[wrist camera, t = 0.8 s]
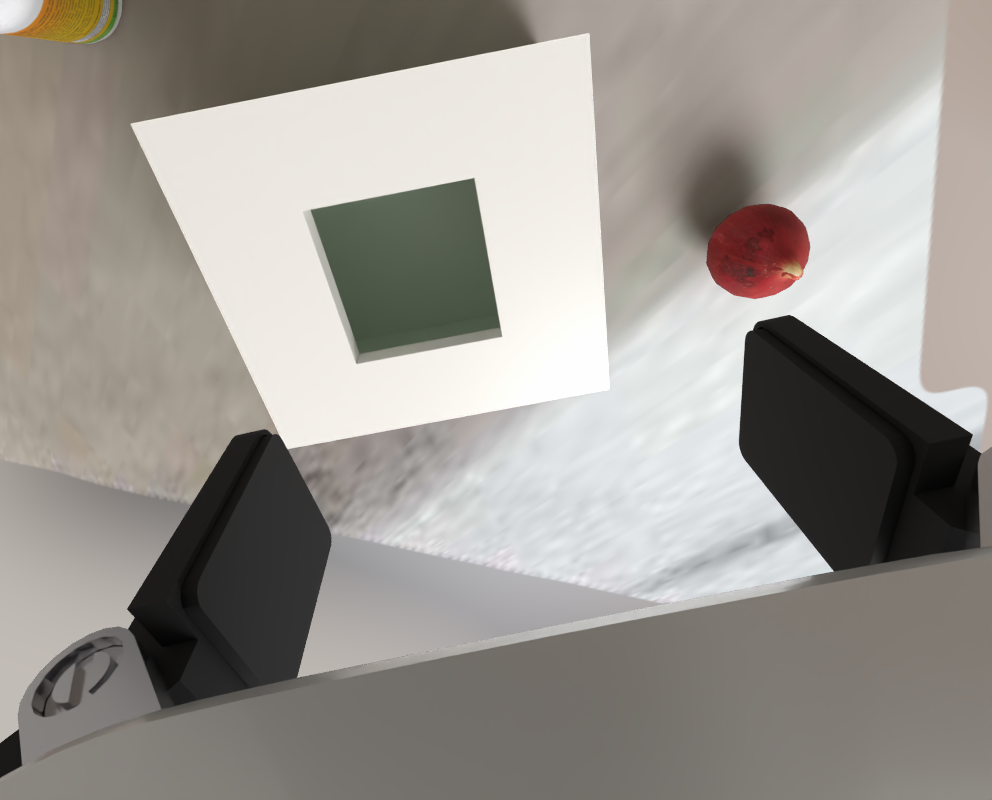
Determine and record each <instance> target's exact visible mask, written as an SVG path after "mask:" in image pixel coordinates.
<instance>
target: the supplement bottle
mask: <svg viewBox="0 0 992 800" xmlns="http://www.w3.org/2000/svg"><path fill="white" fill-rule="evenodd" d="M121 14H122V0H0V34H5V35H14V36H22V37H30V38H37V39H45V40H53V41H60V42H68V43H77V44H91V43H96V42H99V41H102V40H104V39H106V38H107V37H109V36H110V35H111V34H112V33H113V32H114V30H115V29H116V28H117V26H118V24H119V21H120V18H121Z"/></svg>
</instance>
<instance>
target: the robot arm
mask: <svg viewBox="0 0 992 800" xmlns="http://www.w3.org/2000/svg"><path fill="white" fill-rule="evenodd" d="M972 436H973V434H971V433H970V432H968V431H967V430H965V429H964V428H962V427H961V426H959V425H957V424H956V423H954V422H953V421H951V420H950V419H948V418H947V417H945V416H944V415H942V414H941V413H939V412H938V411H936V410H935V409H933V408H932V407H930V406H929V405H927V404H926V403H924V402H923V401H921V400H920V399H918V398H916V397H915V396H913V395H912V394H910V393H909V392H907V391H906V390H904V389H903V388H901V387H900V386H898V385H897V384H895V383H894V382H892V381H891V380H889V379H888V378H886V377H885V376H883V375H882V374H880V373H879V372H877V371H876V370H874V369H872V368H871V367H869V366H868V365H866V364H865V363H863V362H862V361H860V360H859V359H857V358H856V357H854V356H853V355H851V354H850V353H848V352H847V351H845V350H844V349H842V348H841V347H839V346H838V345H836V344H835V343H833V342H831V341H830V340H828V339H827V338H825V337H824V336H822V335H821V334H819V333H818V332H816V331H815V330H813V329H812V328H810V327H809V326H807V325H806V324H804V323H803V322H801V321H800V320H798V319H797V318H795V317H793V316H791V315H787V316H782V317H778V318H773V319H768V320H764V321H759V322H757V323H756V324H755V326H754V329H753V331H749V332H748V333H747V335H746V338H745V351H744V367H743V384H742V400H741V417H740V433H739V446H740V451H741V454H742V456H743V458H744V459H745V461H746V462H747V463H748V464H749V466H750V467H751V468H752V469H753V471H754V472H755V473H756V474H757V476H758V477H759V478H760V479H761V481H762V482H763V483H764V484H765V486H766V487H767V488H768V489H769V491H770V492H771V493H772V494H773V496H774V497H775V498H776V499H777V501H778V502H779V503H780V504H781V506H782V507H783V508H784V509H785V511H786V512H787V513H788V514H789V516H790V517H791V518H792V519H793V521H794V522H795V523H796V524H797V526H798V527H799V528H800V529H801V531H802V532H803V533H804V534H805V536H806V537H807V538H808V539H809V541H810V542H811V543H812V544H813V546H814V547H815V548H816V549H817V551H818V552H819V553H820V554H821V556H822V557H823V558H824V559H825V561H826V562H827V563H828V564H829V566H830V567H831V568H832V569H833V571H834V572H829V573H824V574H818V575H813V576H808V577H803V578H798V579H792V580H787V581H782V582H777V583H772V584H767V585H761V586H756V587H751V588H746V589H741V590H735V591H730V592H725V593H720V594H715V595H709V596H704V597H699V598H694V599H689V600H684V601H678V602H673V603H668V604H663V605H658V606H652V607H648V608H642V609H637V610H633V611H627V612H622V613H617V614H612V615H607V616H602V617H597V618H592V619H587V620H582V621H577V622H572V623H567V624H561V625H556V626H551V627H547V628H541V629H536V630H531V631H526V632H521V633H516V634H512V635H506V636H501V637H496V638H491V639H486V640H481V641H476V642H472V643H467V644H461V645H457V646H451V647H447V648H442V649H437V650H432V651H427V652H422V653H417V654H412V655H407V656H402V657H397V658H393V659H388V660H383V661H378V662H373V663H368V664H364V665H358V666H354V667H348V668H343V669H339V670H334V671H329V672H324V673H319V674H314V675H309V676H305V677H300V678H297V676H298V672H299V668H300V664H301V659H302V656H303V652H304V648H305V644H306V640H307V637H308V633H309V629H310V625H311V621H312V617H313V613H314V609H315V606H316V602H317V597H318V594H319V590H320V586H321V582H322V578H323V575H324V571H325V567H326V563H327V559H328V555H329V551H330V547H331V533H330V530H329V527H328V525H327V523H326V521H325V519H324V518H323V516H322V514H321V512H320V510H319V508H318V506H317V504H316V502H315V500H314V499H313V497H312V495H311V493H310V491H309V489H308V487H307V485H306V483H305V482H304V480H303V478H302V476H301V474H300V472H299V470H298V468H297V466H296V465H295V463H294V461H293V459H292V457H291V455H290V453H289V451H288V449H287V448H286V446H285V444H284V442H283V440H282V439H281V437H280V436H279V435H277V434H274V435H272V434H271V433H270V432H269V431H268V430H265V429H264V430H259V431H254V432H250V433H245V434H241V435H237V436H235V437H234V438H233V439H232V440H231V442H230V443H229V445H228V447H227V448H226V450H225V452H224V453H223V455H222V456H221V458H220V460H219V461H218V463H217V464H216V466H215V468H214V469H213V471H212V473H211V474H210V476H209V477H208V479H207V481H206V482H205V484H204V486H203V487H202V489H201V490H200V492H199V494H198V495H197V497H196V498H195V500H194V502H193V503H192V505H191V507H190V508H189V510H188V512H187V513H186V515H185V516H184V518H183V520H182V521H181V523H180V525H179V526H178V528H177V529H176V531H175V532H174V534H173V536H172V537H171V539H170V541H169V542H168V544H167V545H166V547H165V549H164V550H163V552H162V554H161V555H160V557H159V558H158V560H157V562H156V563H155V565H154V566H153V568H152V570H151V571H150V573H149V575H148V576H147V578H146V579H145V581H144V583H143V584H142V586H141V587H140V589H139V591H138V592H137V594H136V596H135V597H134V599H133V600H132V602H131V604H130V605H129V607H128V609H127V610H128V611H129V612H130V613H131V614H132V615H133V616H134V617H135V618H134V620H133V622H132V623H131V625H130V627H129V628H128V629H126V628H121V627H112V628H105V629H102V630H99V631H97V632H94V633H91V634H89V635H87V636H85V637H84V638H82V639H80V640H78V641H77V642H75V643H73V644H71V645H70V646H69V647H68V648H66V649H65V650H64V651H62V652H61V653H60V654H58V655H57V656H56V657H55V658H53V660H51V661H50V662H49V663H48V664H47V665H46V666H45V667H44V668H43V669H42V670H41V671H40V672H39V674H38V675H37V676H36V677H35V679H34V680H33V682H32V683H31V684H30V685H29V687H28V688H27V690H26V692H25V694H24V696H23V698H22V700H21V702H20V706H19V712H18V724H19V729H18V730H17V731H16V732H14V733H13V734H12V735H10V736H9V737H8V738H6V739H5V740H4V741H2V742H1V743H0V800H992V447H991V448H989V449H988V450H987V451H985V452H984V453H982V454H981V453H980V452H978V451H977V450H975V449H974V448H973V447H971V446H970V445H969V444H970V441H971V438H972Z"/></svg>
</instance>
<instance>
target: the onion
mask: <svg viewBox="0 0 992 800" xmlns="http://www.w3.org/2000/svg"><path fill="white" fill-rule="evenodd" d="M809 251H810V242H809V238H808V234H807V230H806V227H805V226H804V224H803V223H802V222H801V221H800V220H799V219H798V217H797V216H796V215H795V214H794V213H793V212H792V211H790V210H788V209H786V208H783V207H779V206H776V205H772V204H760V205H752V206H746V207H744V208H743V209H741V210H739V211H737V212H735V213H733V214H731V215H729V216H728V217H727V218H726V219H725V220H724V221H723V222H722V223H721V224H720V225H719V226H718V227H717V228H716V230H715V231H714V233H713V235H712V237H711V239H710V241H709V243H708V251H707V262H706V264H707V266H708V268H709V271H710V273H711V275H712V278H713V279H714V281H715V282H716V284H718V285H719V286H721V287H722V288H724V289H725V290H726V291H728V292H730V293H731V294H733V295H736V296H741V297H747V298H753V299H757V298H763V297H767V296H771V295H775V294H777V293H779V292H781V291H783V290H785V289H787V288H789V287H790V286H791V285H792V284H793V283H794V282H795V281H796V280H799V279H800V278H801V277H802V275H803V272H804V271H803V270H804V268H805V266H806V264H807V262H808V256H809Z"/></svg>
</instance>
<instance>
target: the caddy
mask: <svg viewBox="0 0 992 800" xmlns="http://www.w3.org/2000/svg"><path fill="white" fill-rule="evenodd" d="M131 126H132V128H133V130H134V132H135V135H136V137H137V139H138V141H139V143H140V145H141V147H142V149H143V151H144V153H145V155H146V157H147V160H148V162H149V164H150V166H151V168H152V170H153V172H154V174H155V176H156V178H157V180H158V182H159V184H160V187H161V189H162V191H163V193H164V195H165V197H166V199H167V201H168V203H169V205H170V207H171V209H172V212H173V214H174V216H175V218H176V220H177V222H178V224H179V226H180V228H181V230H182V232H183V234H184V237H185V239H186V241H187V243H188V245H189V247H190V249H191V251H192V253H193V255H194V257H195V259H196V262H197V264H198V266H199V268H200V270H201V272H202V274H203V276H204V278H205V280H206V282H207V284H208V287H209V289H210V291H211V293H212V295H213V297H214V299H215V301H216V303H217V305H218V307H219V309H220V312H221V314H222V316H223V318H224V320H225V322H226V324H227V326H228V328H229V330H230V332H231V334H232V337H233V339H234V341H235V343H236V345H237V347H238V349H239V351H240V353H241V355H242V357H243V359H244V362H245V364H246V366H247V368H248V370H249V372H250V374H251V376H252V378H253V380H254V382H255V384H256V387H257V389H258V391H259V393H260V395H261V397H262V399H263V401H264V403H265V405H266V407H267V409H268V412H269V414H270V416H271V418H272V420H273V422H274V424H275V426H276V428H277V430H278V432H279V434H280V437H281V439H282V440H283V442H284V444H285V446H286V448H287V449H290V448H296V447H301V446H307V445H312V444H318V443H323V442H328V441H334V440H339V439H345V438H350V437H355V436H361V435H366V434H372V433H377V432H383V431H388V430H393V429H399V428H404V427H410V426H415V425H421V424H426V423H431V422H437V421H442V420H448V419H453V418H458V417H464V416H469V415H475V414H480V413H486V412H491V411H496V410H502V409H507V408H513V407H518V406H524V405H529V404H534V403H540V402H545V401H551V400H556V399H562V398H567V397H572V396H578V395H583V394H589V393H594V392H599V391H605V390H610V384H609V367H608V349H607V332H606V315H605V297H604V280H603V262H602V245H601V228H600V210H599V193H598V176H597V158H596V141H595V123H594V106H593V89H592V71H591V54H590V36H589V33H587V34H582V35H577V36H571V37H566V38H561V39H556V40H551V41H546V42H541V43H536V44H531V45H526V46H521V47H516V48H511V49H506V50H501V51H496V52H491V53H486V54H480V55H475V56H470V57H465V58H460V59H455V60H450V61H445V62H440V63H435V64H430V65H425V66H420V67H415V68H410V69H405V70H400V71H394V72H389V73H384V74H379V75H374V76H369V77H364V78H359V79H354V80H349V81H344V82H339V83H334V84H329V85H324V86H319V87H314V88H308V89H303V90H298V91H293V92H288V93H283V94H278V95H273V96H268V97H263V98H258V99H253V100H248V101H243V102H238V103H233V104H228V105H223V106H217V107H212V108H207V109H202V110H197V111H192V112H187V113H182V114H177V115H172V116H167V117H162V118H157V119H152V120H147V121H142V122H137V123H131Z"/></svg>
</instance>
